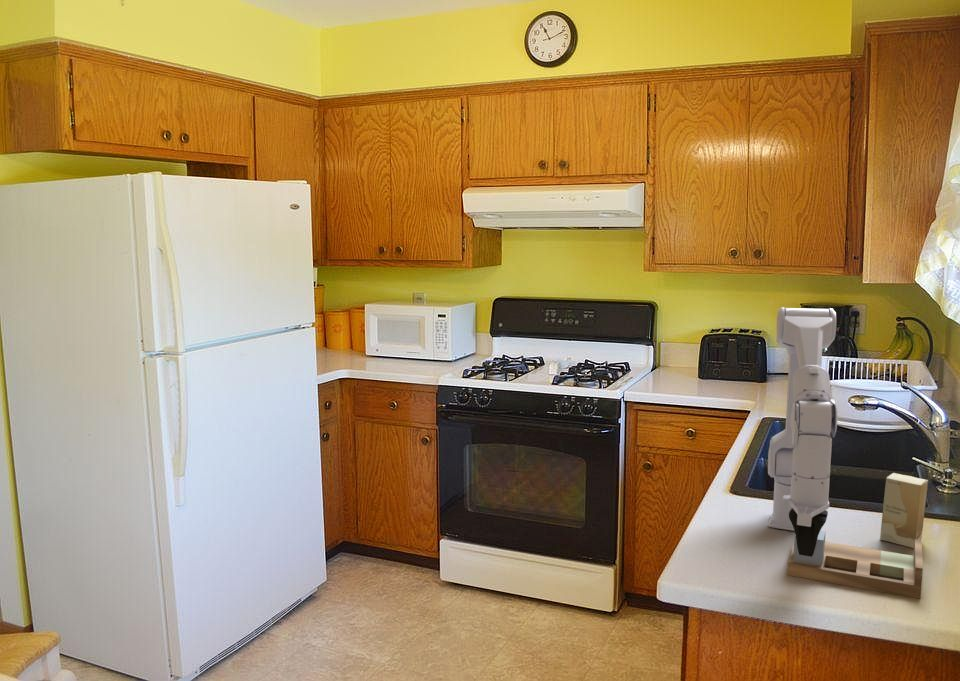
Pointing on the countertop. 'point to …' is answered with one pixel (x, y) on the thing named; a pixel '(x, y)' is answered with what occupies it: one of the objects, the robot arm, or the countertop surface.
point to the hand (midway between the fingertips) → (806, 554)
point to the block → (818, 553)
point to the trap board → (865, 569)
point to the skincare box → (903, 509)
